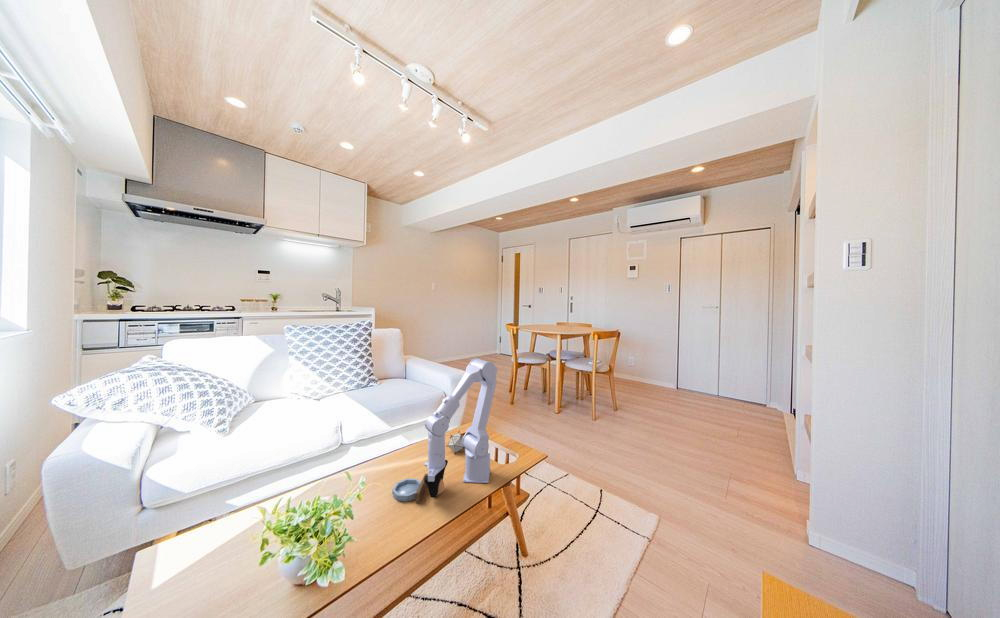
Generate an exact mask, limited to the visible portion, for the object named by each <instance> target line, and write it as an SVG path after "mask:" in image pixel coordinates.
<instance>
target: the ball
mask: <svg viewBox="0 0 1000 618" xmlns="http://www.w3.org/2000/svg"><path fill="white" fill-rule="evenodd" d="M444 488H445V482H444V480H442V479H441V481H440V483H439V488H438V494H437V496H438V495H440V494H441V493H443V491H444Z"/></svg>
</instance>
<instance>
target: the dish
mask: <svg viewBox="0 0 1000 618" xmlns="http://www.w3.org/2000/svg"><path fill="white" fill-rule="evenodd" d="M420 483H421V481H420V480H419V479H418V478H404V479H402V480H400V481H397V482H396V483H395V484H394V486H393V488H392V491H391V492H392V495H393V496H392V497H393V499H394V500H396V501H398V502H402V503H403V502H405V503H406V502H411V501H414V500H416V491H417V489H418V487H419V485H420Z"/></svg>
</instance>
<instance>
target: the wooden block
mask: <svg viewBox="0 0 1000 618" xmlns="http://www.w3.org/2000/svg"><path fill="white" fill-rule="evenodd" d="M425 475H428V473H424V475H423V478H422V479H421V481H420V482H421V483H420V485H419V487H418V489H417V491H416V498H415V505H416V504H417V505H419V504H420V502H421V499H422V498H423V495H424V492H425V491H426V488H427V485H426V483H425V482H424V477H425Z"/></svg>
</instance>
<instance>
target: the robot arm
mask: <svg viewBox="0 0 1000 618" xmlns="http://www.w3.org/2000/svg"><path fill="white" fill-rule="evenodd" d="M497 373H498V368H497V366H496V365H495V363H494V362H492V361H487V360H484V359H481V358H478V357H474V358H472V359H471V360H470V362H469V364H468V365H467V366H466V368H465V373H464V374H463V376H462V377H461V379H460V380H459V381H458V384H457V385H456V387H455V388H454V389H453V390H454V391H453V392H452V394H450V395H446V397H445V398H443V399H442V400H441V401H442V402H441V404H440V405H439V406H438V407H437V409H436V410H435V411H434V412H433V414H431V415H429V417H428V418H427V419H426V421H425V423H424V426H425V429H426V430H427V461H425V462H424V467H427V472H428V473H427V474H428V475H425V474H424V475H425V477H424V476H423V477H424V482H425V483H426V485H427V486H426V488H427V490H428V493H429V497H430V498H433V499H434V498H438V495H439V494H438V488H439V483H440V481H441V479H442V480H443V479H444V476H445V470H446V468H447V466H448V463H449V460H448V459H446V433H447V431H448V430H449V426H450V423H451V420H452V418H453V416H454V415H455V414H456V412H457V411H458V409H459V408H460V406H461V405H460V401H461V400H462V398H463V397H464V395H465V394H466V393H467V392H468V390H469V389H470V388H471V386H473V384H474V383H480V385H481V387H480V391H479V393H478V397H477V401H476V407H475V410H474V415H473V419H472V422H471V425H470V426H468V427H467V428H466V431H465V434H464V435H462V436H463V439H462V445H463V447H464V448H463V449H464V452H465V454H464V455H465V456H464V457H465V458H464V459H465V463H464V464H465V467H464V469H465V471H464V474H463V479H462V483H475V484H476V483H478V484H489V482H490V474H491V453H489V447H490V443H489V439H490V436H489V433H488V431H487V426H488V421H489V418H490V417H489V416H490V412H491V409H492V404H493V401H494V400H493V399H494V396H495V391H496V387H497V383H498V382H497V381H498V380H497ZM443 481H444V480H443ZM437 494H438V495H437Z"/></svg>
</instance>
